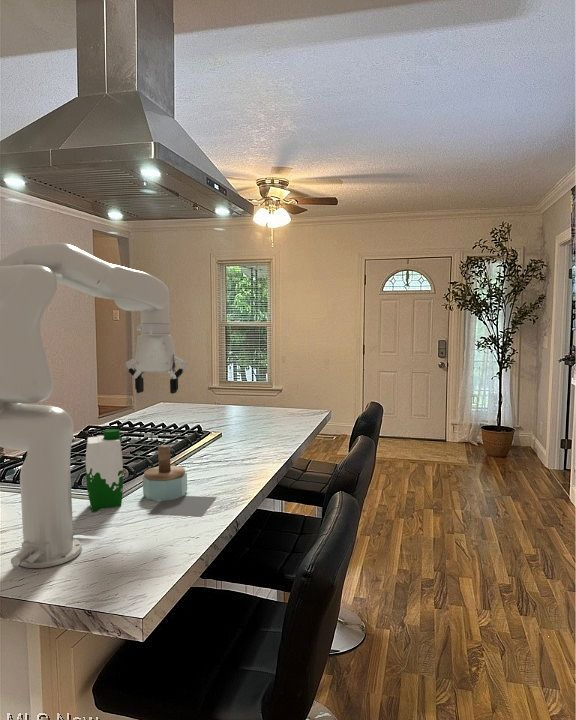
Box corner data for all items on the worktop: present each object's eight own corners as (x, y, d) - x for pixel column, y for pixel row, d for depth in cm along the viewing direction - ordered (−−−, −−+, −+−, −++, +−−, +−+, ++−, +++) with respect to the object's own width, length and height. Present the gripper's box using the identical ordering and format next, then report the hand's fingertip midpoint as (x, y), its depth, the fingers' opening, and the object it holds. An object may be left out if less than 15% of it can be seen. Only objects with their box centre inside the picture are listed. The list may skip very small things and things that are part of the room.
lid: (177, 481, 141) (176, 451, 141) (137, 480, 143) (136, 450, 142) (190, 469, 152) (189, 442, 152) (153, 468, 154) (152, 441, 153)
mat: (202, 518, 131) (202, 516, 131) (147, 516, 133) (147, 514, 133) (217, 499, 145) (217, 497, 145) (167, 497, 147) (167, 495, 147)
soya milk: (125, 508, 139) (122, 432, 137) (87, 513, 135) (84, 436, 134) (122, 498, 147) (120, 426, 145) (87, 502, 144) (84, 429, 142)
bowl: (177, 503, 142) (177, 481, 141) (138, 502, 143) (137, 480, 143) (191, 490, 153) (190, 469, 152) (154, 488, 154) (153, 468, 154)
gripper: (119, 330, 143) (120, 394, 144) (181, 330, 140) (182, 395, 141) (131, 330, 150) (133, 390, 151) (190, 330, 148) (191, 391, 149)
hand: (156, 392), depth 146 cm, fingers open, 9 cm apart
